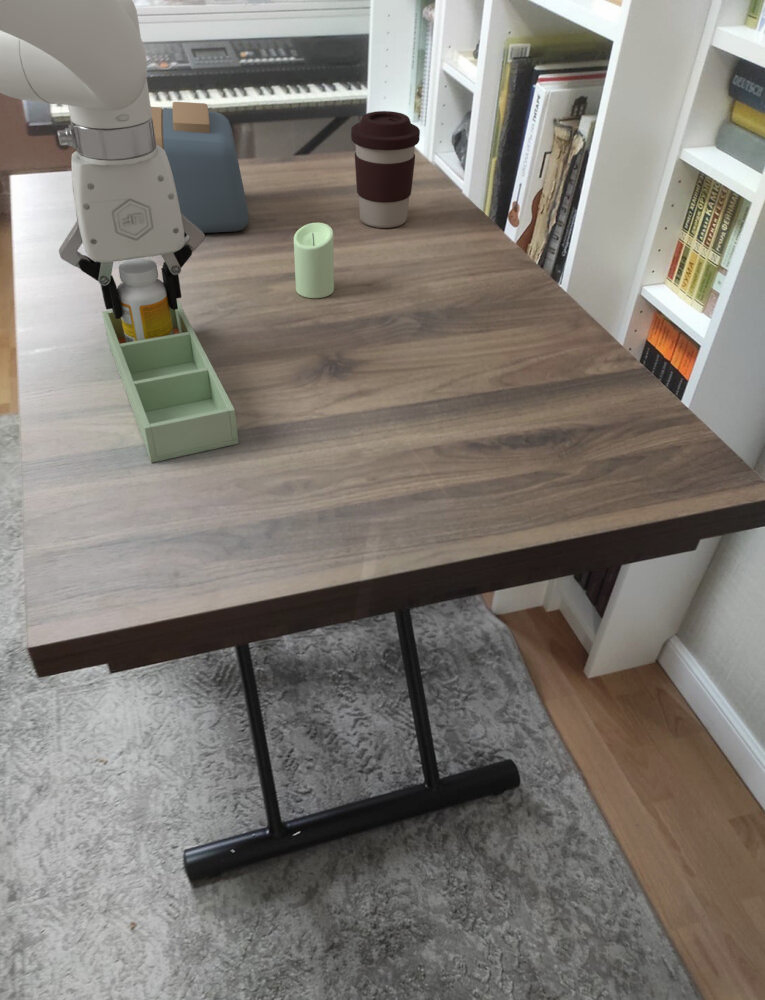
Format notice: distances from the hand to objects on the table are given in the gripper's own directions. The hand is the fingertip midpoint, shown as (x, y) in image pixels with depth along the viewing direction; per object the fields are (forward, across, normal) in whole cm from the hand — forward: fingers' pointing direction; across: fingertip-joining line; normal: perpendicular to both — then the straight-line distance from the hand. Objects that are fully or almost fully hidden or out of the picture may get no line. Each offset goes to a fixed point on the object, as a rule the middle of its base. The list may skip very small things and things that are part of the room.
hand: (144, 307), depth 92 cm
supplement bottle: (+5, 0, 0) cm, 5 cm away
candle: (+6, +23, +9) cm, 26 cm away
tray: (+6, 0, -8) cm, 10 cm away
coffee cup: (+6, +41, +28) cm, 50 cm away
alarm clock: (+6, +14, +39) cm, 42 cm away
